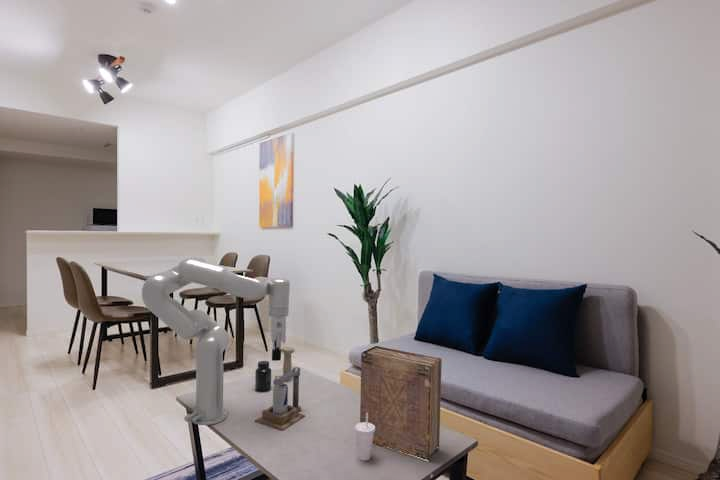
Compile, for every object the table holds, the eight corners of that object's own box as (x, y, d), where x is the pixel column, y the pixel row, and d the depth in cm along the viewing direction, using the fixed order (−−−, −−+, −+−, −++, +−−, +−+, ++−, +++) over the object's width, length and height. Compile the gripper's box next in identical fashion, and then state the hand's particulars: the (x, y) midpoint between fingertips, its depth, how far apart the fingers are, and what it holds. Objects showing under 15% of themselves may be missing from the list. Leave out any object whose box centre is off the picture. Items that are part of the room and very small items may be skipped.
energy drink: (289, 415, 154) (290, 384, 154) (282, 421, 149) (283, 389, 149) (277, 413, 156) (278, 382, 155) (269, 419, 151) (270, 387, 150)
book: (439, 449, 134) (442, 358, 133) (428, 462, 126) (431, 366, 125) (373, 428, 147) (374, 345, 146) (359, 438, 139) (361, 351, 139)
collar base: (282, 431, 144) (283, 392, 143) (254, 421, 150) (255, 384, 150) (312, 412, 159) (313, 377, 159) (286, 404, 165) (286, 370, 165)
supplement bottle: (269, 385, 185) (269, 359, 184) (272, 391, 178) (272, 364, 178) (254, 387, 182) (254, 360, 182) (256, 393, 176) (256, 365, 175)
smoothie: (368, 465, 124) (369, 419, 123) (350, 458, 127) (351, 414, 127) (378, 455, 129) (379, 411, 129) (361, 449, 133) (362, 406, 132)
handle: (289, 383, 188) (289, 351, 187) (278, 380, 191) (279, 348, 191) (295, 380, 192) (296, 348, 192) (285, 377, 195) (285, 346, 195)
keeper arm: (295, 373, 162) (295, 365, 162) (301, 374, 161) (301, 366, 161) (272, 385, 148) (272, 376, 148) (279, 387, 147) (279, 378, 147)
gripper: (290, 315, 147) (288, 366, 148) (286, 307, 161) (284, 353, 162) (269, 315, 145) (267, 367, 145) (267, 307, 159) (265, 354, 160)
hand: (276, 359), depth 154 cm, fingers closed
